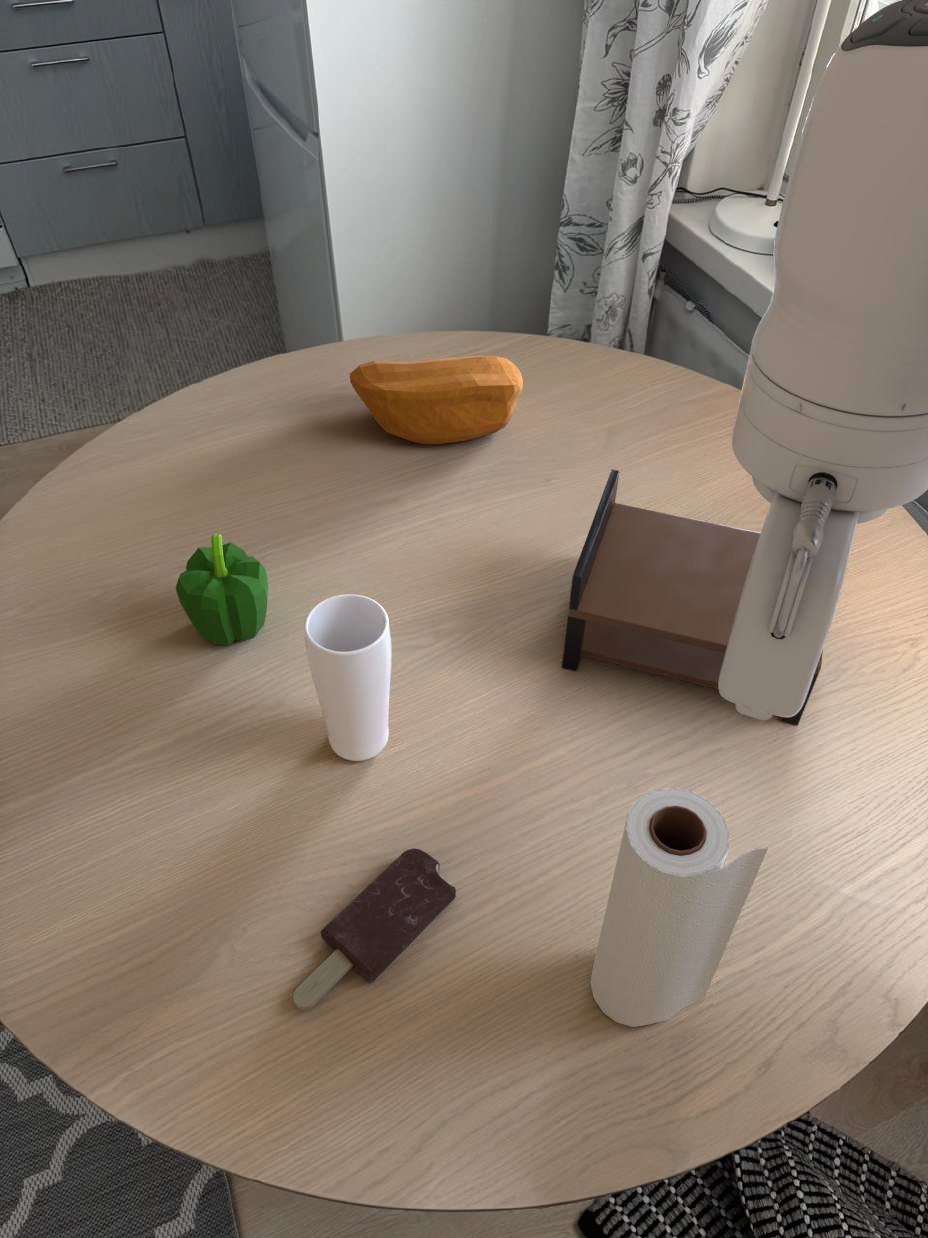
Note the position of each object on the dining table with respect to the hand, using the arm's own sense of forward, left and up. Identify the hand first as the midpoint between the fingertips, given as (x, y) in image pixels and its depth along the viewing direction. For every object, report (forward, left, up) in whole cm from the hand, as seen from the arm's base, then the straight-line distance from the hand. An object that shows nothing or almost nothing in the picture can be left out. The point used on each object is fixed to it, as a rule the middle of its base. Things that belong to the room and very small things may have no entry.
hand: (772, 646), depth 53 cm
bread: (+40, -58, -33) cm, 78 cm away
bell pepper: (+47, -18, -33) cm, 60 cm away
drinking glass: (+30, -9, -33) cm, 45 cm away
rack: (+4, -31, -32) cm, 45 cm away
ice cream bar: (+22, +8, -33) cm, 40 cm away
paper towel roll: (+2, +6, -33) cm, 33 cm away
